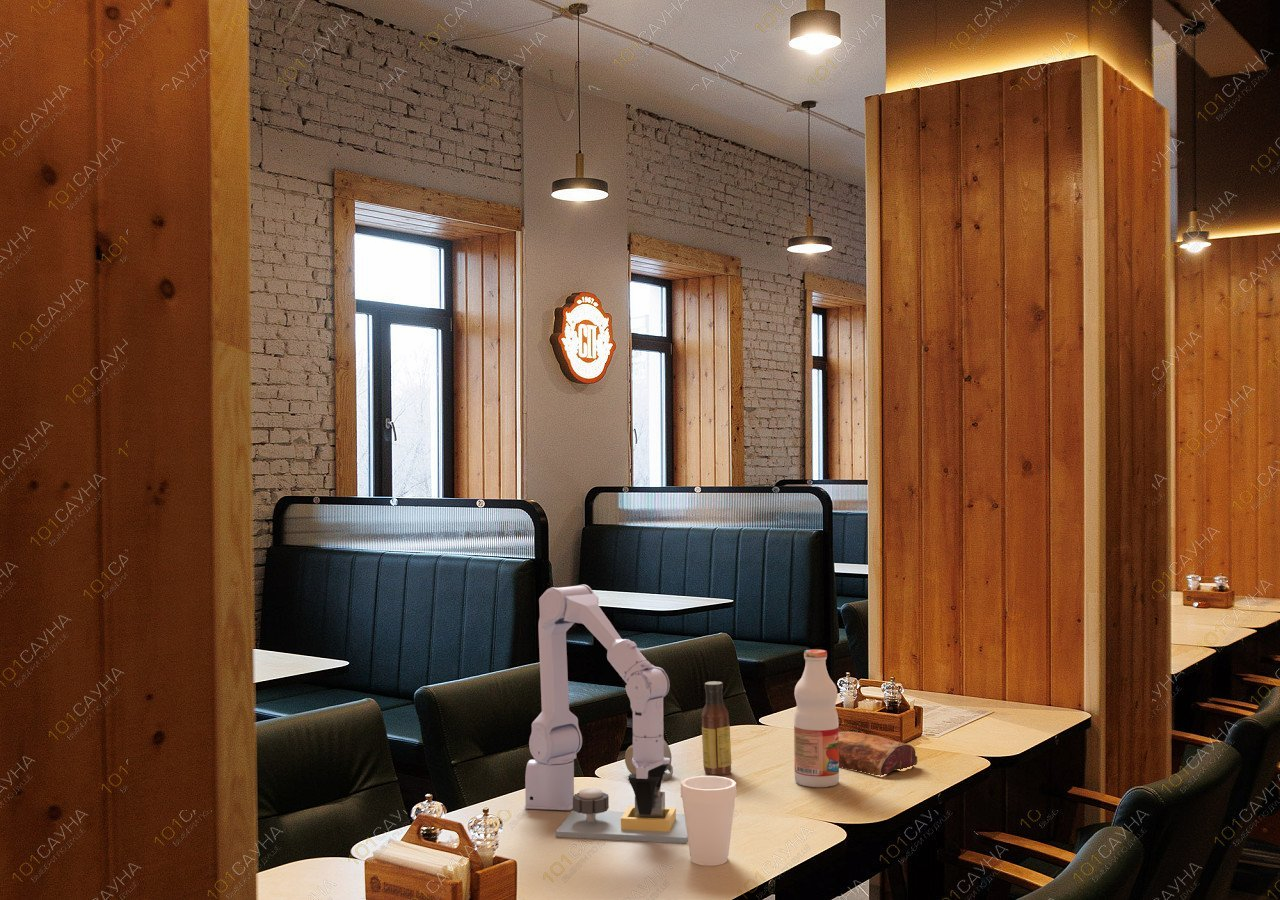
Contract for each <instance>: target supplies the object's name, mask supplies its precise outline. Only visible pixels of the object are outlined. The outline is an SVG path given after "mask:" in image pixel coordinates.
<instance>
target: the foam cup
mask: <svg viewBox="0 0 1280 900" xmlns="http://www.w3.org/2000/svg"><path fill="white" fill-rule="evenodd" d="M680 798H682V799H681V800H682V806H683V807H682V808H683V813H684V815H685V822H686V830H687V837H688V841H687V844H688V850H689V856H690V861H692V863H694V864H696V865H700V866H710V867H711V866H713V867H714V866H719V865H723V864H725V863H727V861H729V860H728V859H729V854H730V845H731V837H732V836H731V835H732V827H733V820H734V819H733V818H734V809H735V801H736V798H737V782H736V781H735V780H734V779H732V778H729V777H724V776H720V775H698V776H691V777H687V778H685V779H683V780H682V781H681V782H680Z"/></svg>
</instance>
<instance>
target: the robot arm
mask: <svg viewBox="0 0 1280 900" xmlns="http://www.w3.org/2000/svg"><path fill="white" fill-rule="evenodd" d="M538 603H539V604H538V605H539V618H538V626H537V627H538V648H539V649H538V650H539V652H538V653H539V673H540V694H541V695H540V696H541V697H540V700H541V712H540V713H539V714H538V716H537V717H536V718H535V719H534V720H533V721H532V723H531V732H530V735H529V741H528V745H529V752H530V754H531V756H532V757H533V759H529V760H528V761H527V763H526V768H525V777H524V779H525V780H524V781H525V784H524V785H525V786H524V787H525V788H524V789H525V793H524V794H525V795H524V796H525V799H524V800H525V805H524V809H527V810H529V809H530V810H552V811H571V810H572V811H573V796H574V795H575V759H577V754H578V753H579V752H580V750H581V748H582V745H583V736H582V732H581V730H580V727H579V719H578V717H577V716H576V715H575V714H574V713H573V712H571V710H570V700H569V679H568V677H569V676H568V673H569V672H568V655H567V653H568V652H567V651H568V650H567V632H568V631H569V629H570V628H572V626H573V625H575V623H576V624H582V625H584V626H585V628H586V629H587V630H588V631H589V632H590V633H591V634H592V635H593V636H594V637H595V638H596V640H598V641H599V642H600V644H601V645H602V646H603V647H604V648H605V649H606V651H607V653H606V658H607V661H608V662H609V663H610V665H611V666H612V667H613V669H614V670H615V671H616V672H617V673H618V675H619V676H620V677H621V678H622V680H623V681H624V683H625V692H626V694H627V697H628V698H629V699H628V700H629V702H630V709H631V712H632V745H633V758H632V763H633V765H634V766H635V768H636V774H631V773H629V774H628V776H627V777H628V781H629V785H630V786H631V788H632V790H633V793H634V798H635V797H636V802H637V807H638V811H639V814H642V815H650V814H651V812H652V807H653V799H654V793H655V789H656V787H661V786H662V782H663V780H662V778H663V775H664V774H665V773H666V771H667V770H666V768H667V764H669V763H670V758H665V757H664V741H665V739H664V698H665V697H666V696H667V695H668V693H669V691H670V687H671V685H670V679H669V678H670V677H669V676H668V674H667V673H666V671H665V670H664V669H663V668H662V667H659V666H655V665H654V664H652V663H651V661H649V660H647V658H646V657H645V656H644V655H643V654H642V652H641V650H639V649H638V645H637V644H636V642H635V641H632V640H630V639H628V638H624V639H623V638H622V637H621V636H620V634H619V632H617V629H615V627H614V625H613V624H612V622H611V621H610V619H608V617H607V616H606V614H605V612H603V610H602V608H601V607H600V606H599V604H600V602H599V597H598V596H597V594H595V592H594V591H593V589H592V588H591V587H590V586H589V585H587V584H578V585H571V586H564V587H563V586H562V587H550V588H549V587H548V588H547V589H546V590H545V591H544V592H543V594H541V596H540V597H539V599H538ZM663 739H664V740H663ZM665 770H666V771H665Z"/></svg>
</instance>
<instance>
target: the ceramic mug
mask: <svg viewBox="0 0 1280 900" xmlns="http://www.w3.org/2000/svg"><path fill="white" fill-rule="evenodd" d="M663 740H664V757H665V758H670V763H669V764H667V768H666V770H665V772H667V771H668V772H669V773H664V775H663V778H662V781H668V780H670V779H671V778H672V776H673V773H674V767H673V765H672V752H671V748H670V747H669V744H668V743H667V741H665V739H664V738H663ZM632 758H633V744H631V745H630V746H628V748H627V749H626V751H625V754H624V763H625V767H626V768H627V770H628V773H629V774H636V768H635V766H634V765H633V763H632Z"/></svg>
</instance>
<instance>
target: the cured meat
mask: <svg viewBox="0 0 1280 900" xmlns="http://www.w3.org/2000/svg"><path fill="white" fill-rule="evenodd" d="M838 734H839V768H840V767H843V768H842V769H844V768H847V769H846V770H848V769H853V770H857V771H856V772H858V771H862V772H866V773H870V774H874V775H880V776H881V775H884V774H887V775H888V774H889V773H891V772H892V771H895V770H894V769H900V770H901V769H903V768H907V767H910V766H913V765H916V766H917V764H918V756H917V755H916V749H915V747H913V746H912V745H911V744H908V743H904V742H900V741H896V740H893V739H889V738H886V737H883V736H879V735H875V734H867V733H862V732H857V731H856V732H855V731H851V730H850V731H838ZM853 770H852V771H853ZM862 772H861V773H862ZM866 773H865V774H866Z"/></svg>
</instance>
